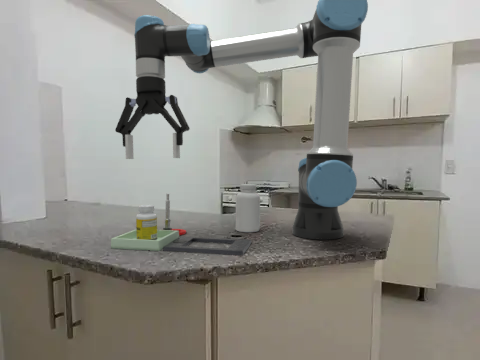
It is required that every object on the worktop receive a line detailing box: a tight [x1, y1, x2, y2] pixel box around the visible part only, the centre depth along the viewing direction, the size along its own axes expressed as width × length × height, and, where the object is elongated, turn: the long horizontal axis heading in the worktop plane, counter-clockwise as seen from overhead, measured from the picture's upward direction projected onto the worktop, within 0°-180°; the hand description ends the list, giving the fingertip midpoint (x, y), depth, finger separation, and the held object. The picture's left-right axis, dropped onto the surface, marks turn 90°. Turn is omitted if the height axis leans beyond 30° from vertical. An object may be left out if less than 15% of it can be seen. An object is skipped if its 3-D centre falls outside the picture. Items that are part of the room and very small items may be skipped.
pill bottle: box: [235, 183, 261, 233], centre depth 104 cm, size 8×8×15 cm
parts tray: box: [110, 228, 180, 252], centre depth 86 cm, size 13×13×2 cm
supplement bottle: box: [135, 204, 158, 240], centre depth 86 cm, size 5×5×10 cm
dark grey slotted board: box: [162, 235, 252, 256], centre depth 83 cm, size 20×12×1 cm, turn 78°
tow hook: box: [162, 193, 187, 236], centre depth 99 cm, size 8×13×9 cm
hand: (152, 158), depth 86 cm, fingers open, 13 cm apart
